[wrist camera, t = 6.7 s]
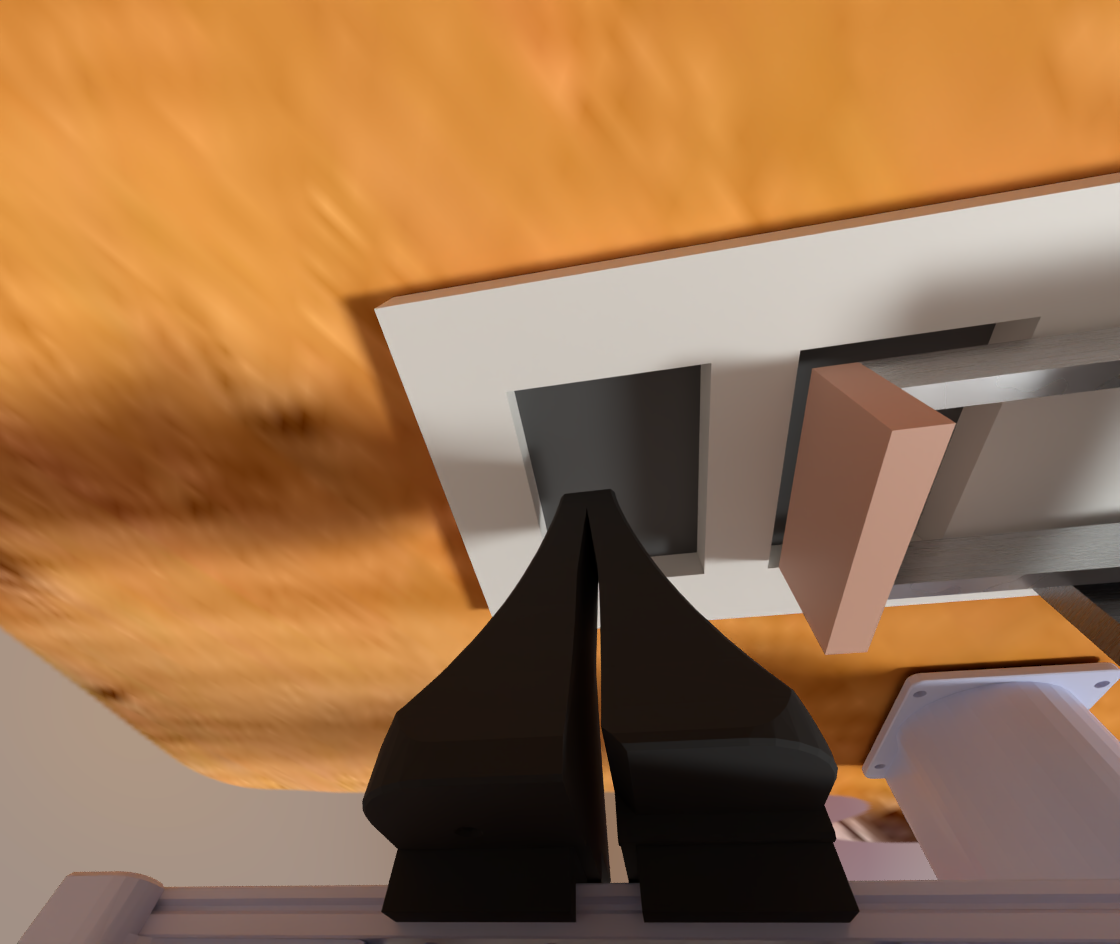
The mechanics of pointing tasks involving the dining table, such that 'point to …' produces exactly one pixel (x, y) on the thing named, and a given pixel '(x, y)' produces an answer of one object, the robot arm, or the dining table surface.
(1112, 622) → the tunnel
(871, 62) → the dining table surface
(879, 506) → the steel sled
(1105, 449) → the track deck
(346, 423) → the dining table surface
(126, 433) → the dining table surface
